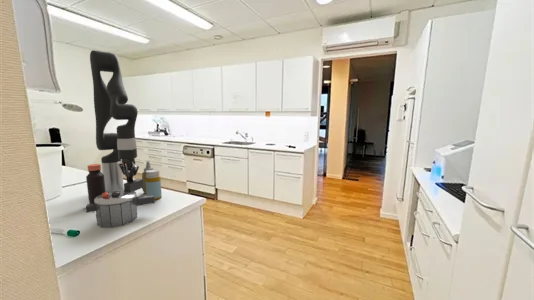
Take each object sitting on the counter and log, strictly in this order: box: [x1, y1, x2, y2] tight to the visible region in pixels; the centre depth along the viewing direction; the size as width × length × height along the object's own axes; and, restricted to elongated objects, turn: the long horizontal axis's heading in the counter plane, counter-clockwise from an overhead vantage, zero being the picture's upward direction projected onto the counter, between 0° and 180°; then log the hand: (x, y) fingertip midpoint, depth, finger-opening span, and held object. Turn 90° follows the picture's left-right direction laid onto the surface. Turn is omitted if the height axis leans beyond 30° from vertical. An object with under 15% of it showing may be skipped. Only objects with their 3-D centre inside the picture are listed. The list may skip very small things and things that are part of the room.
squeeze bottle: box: [141, 161, 154, 195], centre depth 128 cm, size 8×8×18 cm
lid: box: [94, 178, 143, 206], centre depth 98 cm, size 21×15×5 cm
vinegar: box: [85, 163, 106, 204], centre depth 110 cm, size 7×7×20 cm
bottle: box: [146, 168, 162, 201], centre depth 120 cm, size 7×7×15 cm
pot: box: [85, 194, 156, 229], centre depth 97 cm, size 24×14×9 cm, turn 119°
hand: (130, 184), depth 109 cm, fingers closed
